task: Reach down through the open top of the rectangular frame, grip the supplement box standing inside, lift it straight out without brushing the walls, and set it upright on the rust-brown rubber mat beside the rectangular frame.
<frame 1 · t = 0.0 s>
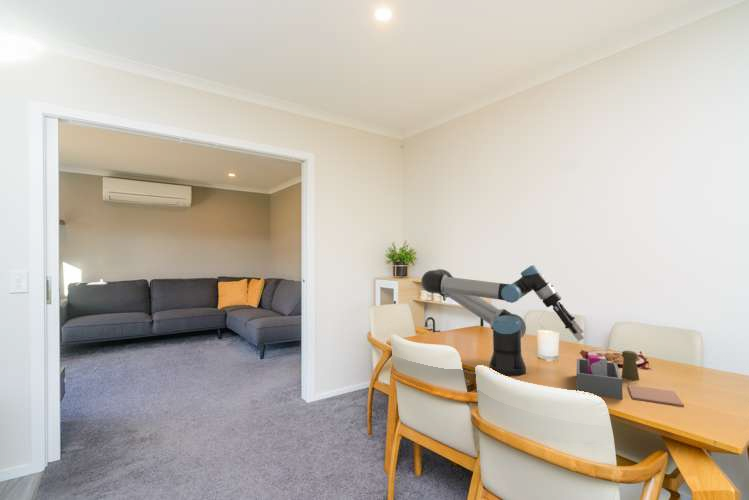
hand: (581, 336, 156), 15 cm above the table, tool tilted 35°, fingers open, 13 cm apart
rectangular frame: (597, 386, 138), on the table
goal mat: (653, 395, 128), on the table
supplement box: (597, 386, 138), resting in rectangular frame
cork: (630, 378, 147), on the table
plate with food: (616, 362, 171), on the table
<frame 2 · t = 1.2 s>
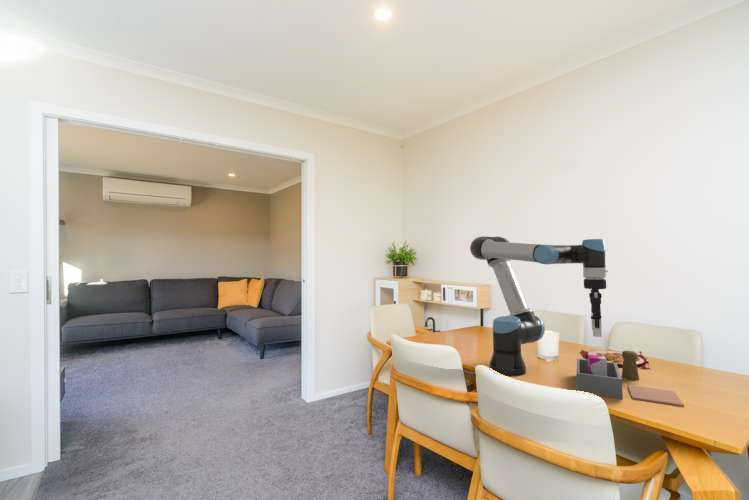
hand: (596, 333, 139), 20 cm above the table, tool pointing down, fingers open, 13 cm apart
nothing on the table moved.
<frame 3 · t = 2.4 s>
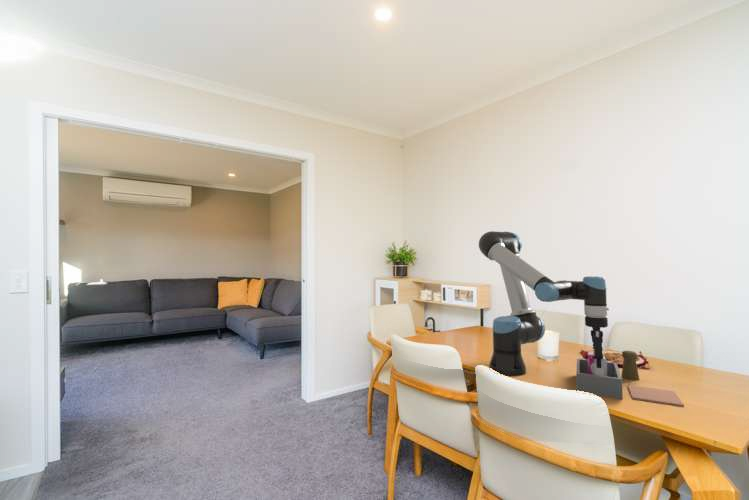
hand: (598, 371, 138), 6 cm above the table, tool pointing down, fingers open, 13 cm apart
nothing on the table moved.
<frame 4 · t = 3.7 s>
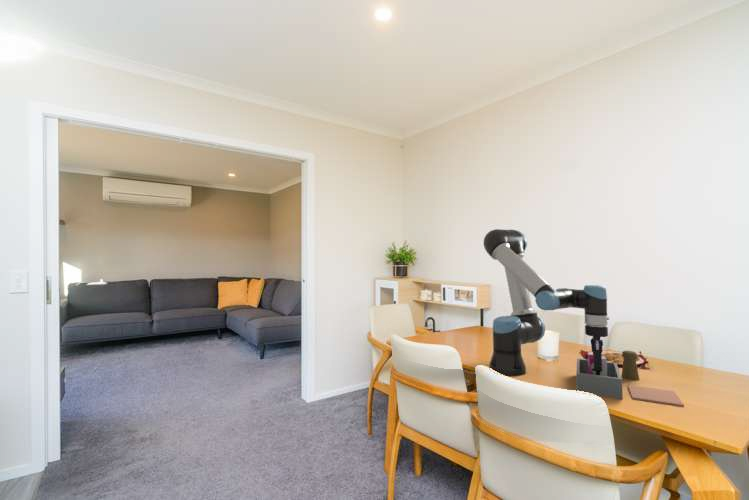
hand: (597, 384, 138), 0 cm above the table, tool pointing down, fingers closed on supplement box, 6 cm apart
supplement box: (597, 386, 138), resting in rectangular frame, touching gripper
everything else where it was.
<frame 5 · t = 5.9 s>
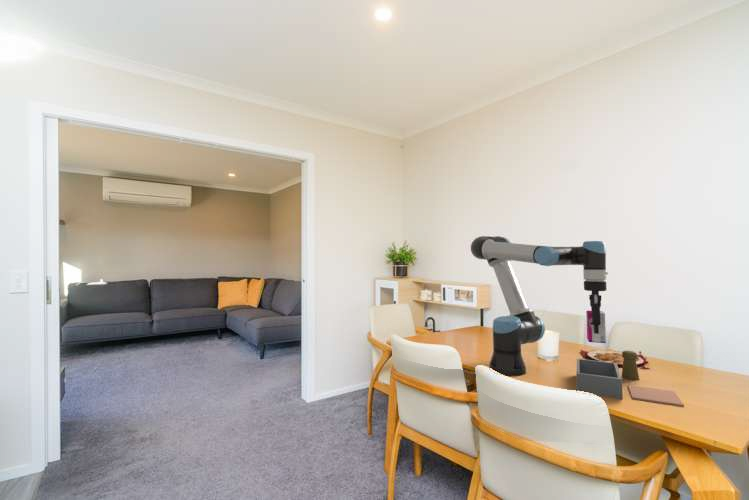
hand: (596, 339, 139), 18 cm above the table, tool pointing down, fingers closed on supplement box, 6 cm apart
supplement box: (596, 341, 139), point 17 cm above the table, touching gripper
everything else where it was.
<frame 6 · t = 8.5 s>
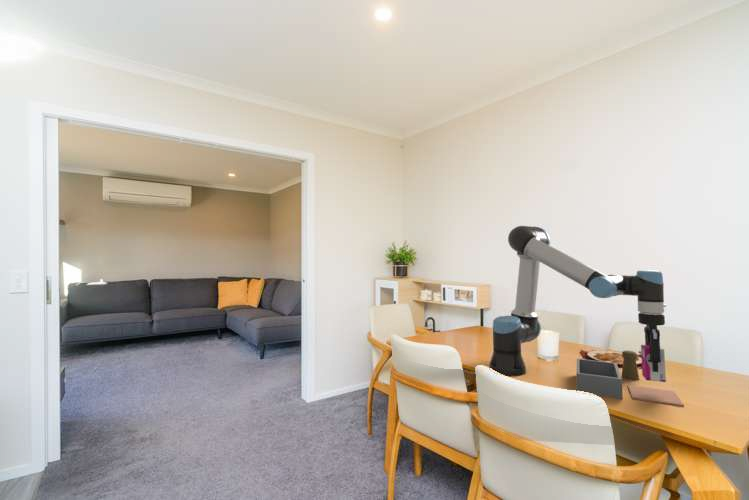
hand: (653, 377, 128), 7 cm above the table, tool pointing down, fingers closed on supplement box, 6 cm apart
supplement box: (653, 379, 128), point 6 cm above the table, touching gripper
everything else where it was.
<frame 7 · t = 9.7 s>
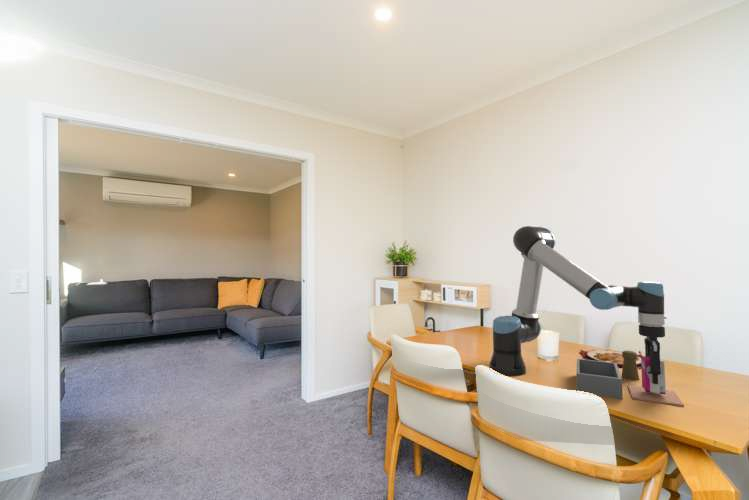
hand: (653, 389, 128), 2 cm above the table, tool pointing down, fingers closed on supplement box, 6 cm apart
supplement box: (653, 390, 128), point 2 cm above the table, touching gripper
everything else where it was.
when the fingers open (2 cm above the table, at t = 9.7 s): supplement box drops 1 cm, resting on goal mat.
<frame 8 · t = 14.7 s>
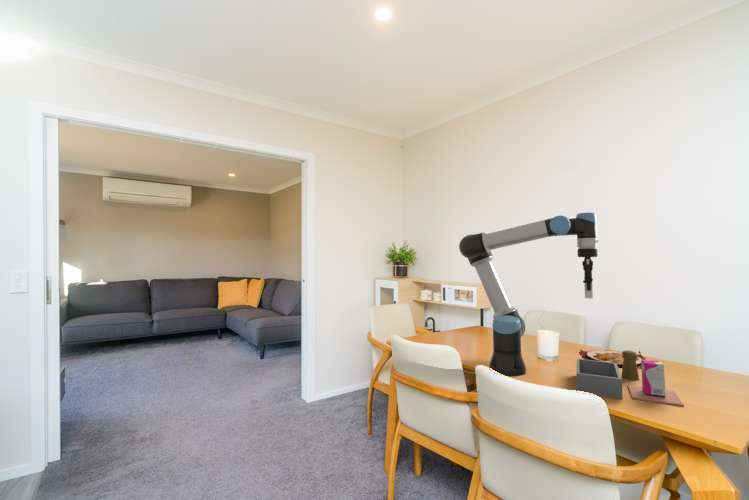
hand: (588, 296, 156), 33 cm above the table, tool pointing down, fingers open, 13 cm apart
supplement box: (653, 394, 129), resting on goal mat
everything else where it was.
at the end: supplement box inside the target area on the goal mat (0.2 cm from its centre), point 0.4 cm above the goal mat's base; supplement box tilted 0°; the gripper is holding nothing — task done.
